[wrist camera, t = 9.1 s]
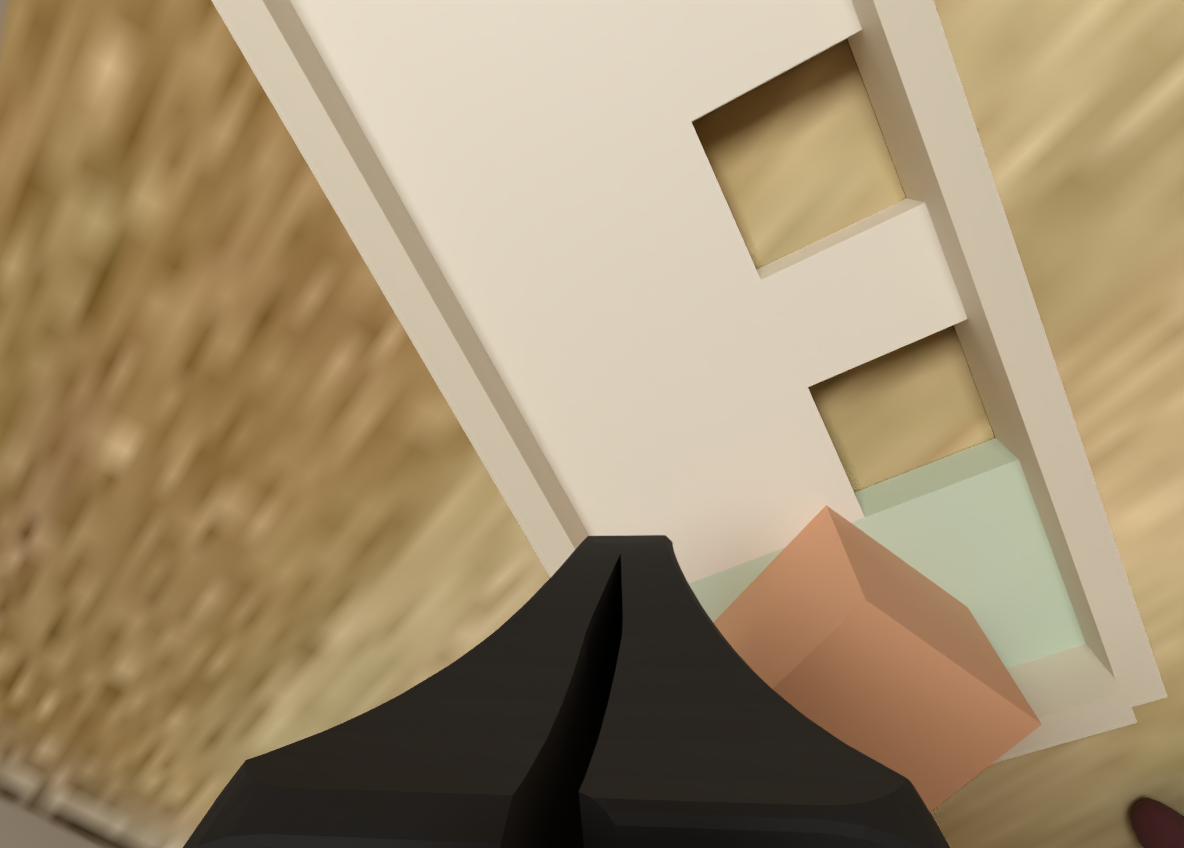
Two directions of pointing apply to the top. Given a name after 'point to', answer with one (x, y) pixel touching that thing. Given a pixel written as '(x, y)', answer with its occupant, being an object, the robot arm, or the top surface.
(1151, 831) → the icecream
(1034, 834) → the top surface
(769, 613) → the block
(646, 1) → the lane
